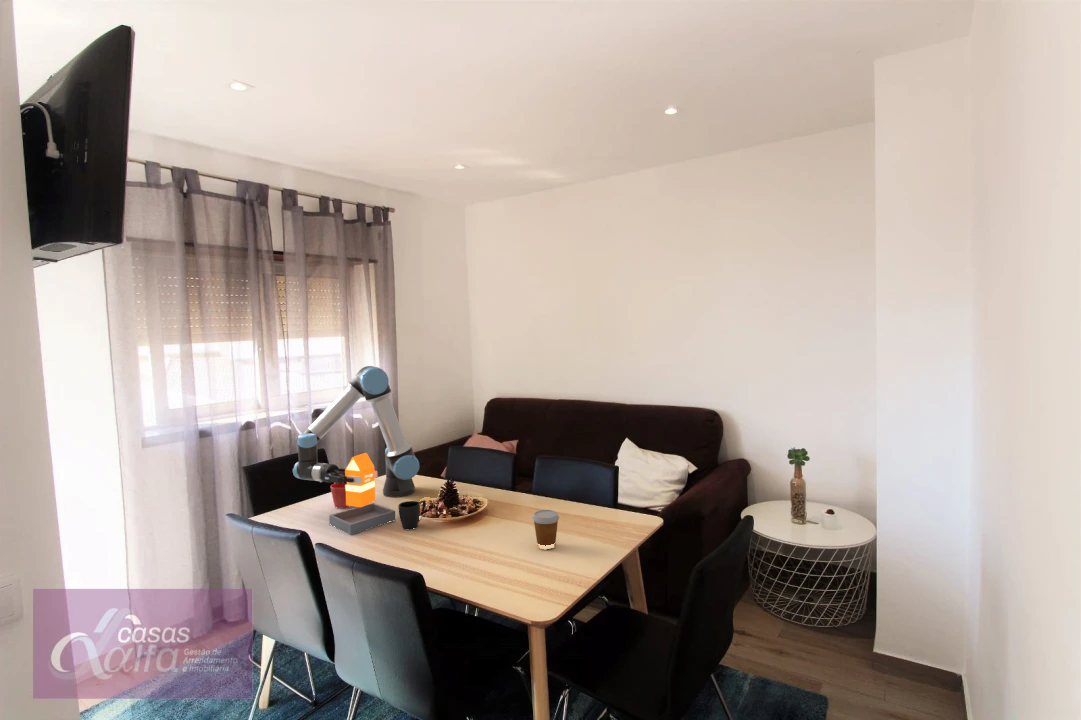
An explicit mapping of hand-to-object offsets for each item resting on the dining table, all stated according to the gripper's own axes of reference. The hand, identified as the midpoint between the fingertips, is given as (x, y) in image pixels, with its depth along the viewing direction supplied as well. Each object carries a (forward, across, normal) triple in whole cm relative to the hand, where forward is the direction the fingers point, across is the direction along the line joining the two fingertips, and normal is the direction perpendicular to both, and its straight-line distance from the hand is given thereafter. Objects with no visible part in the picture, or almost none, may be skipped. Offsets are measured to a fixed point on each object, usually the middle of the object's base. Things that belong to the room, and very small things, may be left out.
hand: (369, 477), depth 213 cm
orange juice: (-5, 0, -11) cm, 12 cm away
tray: (-4, 0, -19) cm, 20 cm away
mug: (+18, -4, -19) cm, 27 cm away
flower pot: (-28, -15, -20) cm, 37 cm away
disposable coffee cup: (+76, -2, -19) cm, 78 cm away
